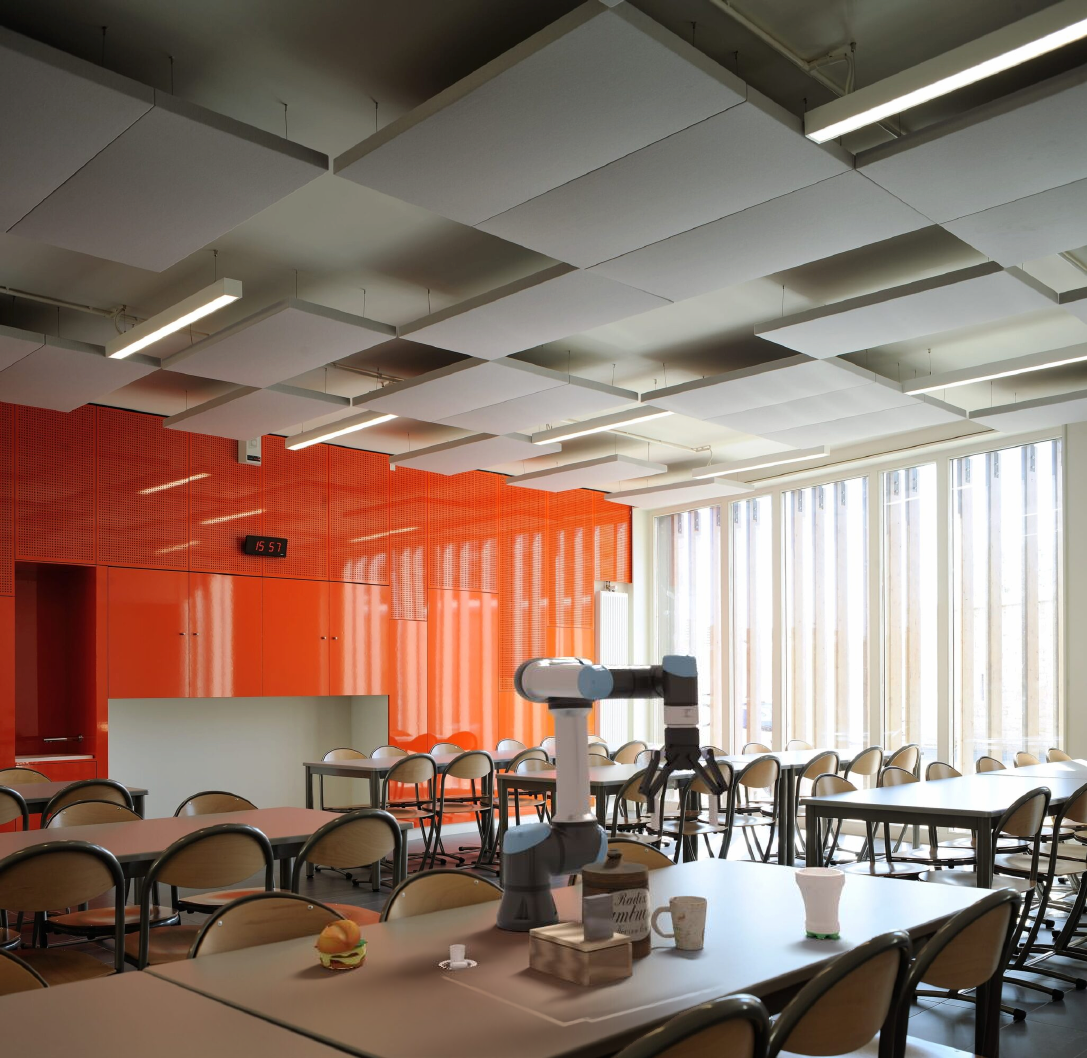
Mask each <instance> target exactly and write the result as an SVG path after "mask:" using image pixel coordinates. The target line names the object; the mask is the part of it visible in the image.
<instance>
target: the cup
mask: <svg viewBox="0 0 1087 1058" xmlns="http://www.w3.org/2000/svg"><path fill="white" fill-rule="evenodd" d="M794 875H795V876H794V877H795V883H796V885H797V887H798V888H799V891H800V893H801V896H802V900H803V903H804V909H805V921H804V923H805V932H806V935H807V937H809V938H814V937H817V938H818V939H819V940H824V939H826V937H827V936H828V938H830V939H833V940H834V939H835V940H836V939H837V938H838V935H839V934H840V932H841V925H840V921H839V904H840V900H841V894H842V892H843V887H844V886H845V884H846V873H845V872H844V871H843V870H842V869H836V868H829V867H819V866H818V867H817V866H816V867H801V868H797V869H796V870H794Z"/></svg>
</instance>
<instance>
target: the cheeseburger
mask: <svg viewBox="0 0 1087 1058" xmlns="http://www.w3.org/2000/svg"><path fill="white" fill-rule="evenodd" d="M361 935H362V934H361V930H360V927H359V926H358V924H357V923H355V922H354V921H352V920H348V919H341V920H338V921H334V922H331V923H329V924H328V925H326V926H325V928H324V929H323V931H321V933H320V935H319V936H318V938H317V940H316V942H317V943H316V945H314V949H317V950H318V953H317V957H318V959H319V960H320V964H322V965H323V966H322V965H321V966H322V967H324V966H326V967H332V968H350V967H356V968H358V967H360V966H362V965H363V964H364V962H365V961H366V951H367V949H366V944H368V941H366V940H364V939H361V938H362V936H361ZM357 966H358V967H357ZM326 967H325V968H326Z"/></svg>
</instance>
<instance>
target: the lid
mask: <svg viewBox="0 0 1087 1058" xmlns="http://www.w3.org/2000/svg"><path fill="white" fill-rule="evenodd" d="M583 919H584V924H582V922H578V921H568V922H564V923H559V924H557V925H552V926H547V927H541V928H536V929H531V930H530V931H529V935H530V936H536V937H539V938H542V939H546V940H549V941H552V942H556V943H559V944H562V945H566V946H569V947H572V948H575V949H579V950H582V951H585V952H587V951H592V950H596V949H601V948H606V947H611V946H615V945H620V944H625V943H629V942H631V937H630V936H626V935H622V934H619V933H615V932H614V930H613V895H610V894H600V895H595V896H589V897H583Z"/></svg>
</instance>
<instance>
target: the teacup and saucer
mask: <svg viewBox="0 0 1087 1058" xmlns="http://www.w3.org/2000/svg"><path fill="white" fill-rule="evenodd" d="M465 952H466V945H465V944H452V945H450V946H449V955H450V959H447V960H444V961H440V962H439V964H438V966H441V967H443V966H442V964H444V963H446V962H449V963H450V964H449V967H448V968H449V969H448V968H447V969H446V970H450V971H451V970H454V971H456V970H462V969H467V968H468V967H469V964H470V967H469V968H471V967H475V966H477V965H478V963H477V961H474V960H472V959H468V958H467V959H465ZM446 964H447V963H446ZM441 967H440V968H441ZM446 967H447V966H445V967H443V968H442V969H444V968H446Z"/></svg>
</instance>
